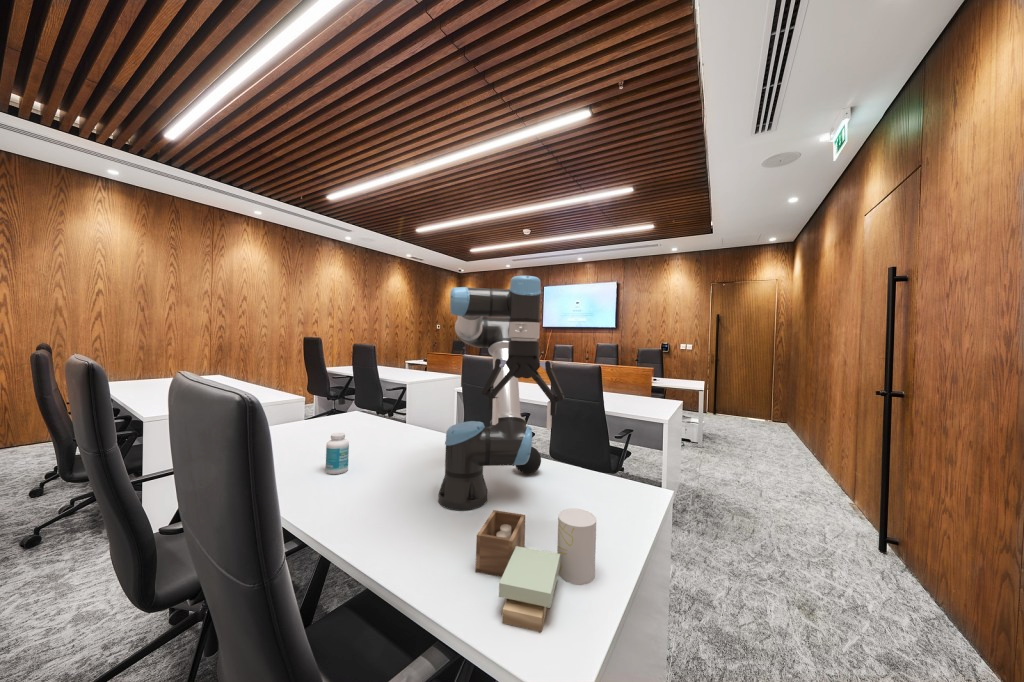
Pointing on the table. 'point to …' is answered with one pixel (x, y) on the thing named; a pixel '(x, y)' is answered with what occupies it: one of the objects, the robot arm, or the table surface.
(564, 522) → the cup
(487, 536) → the box
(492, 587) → the table surface
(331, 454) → the pill bottle
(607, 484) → the table surface
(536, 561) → the lid
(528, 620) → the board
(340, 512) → the table surface
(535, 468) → the black ball
